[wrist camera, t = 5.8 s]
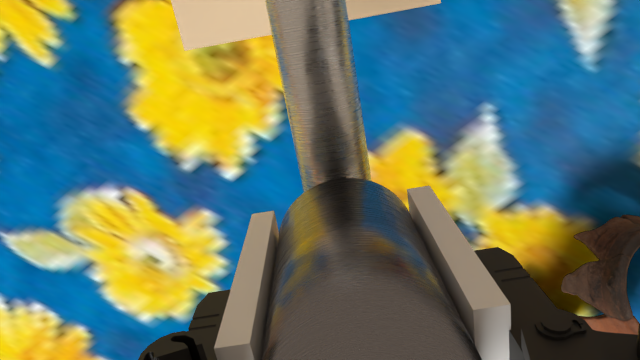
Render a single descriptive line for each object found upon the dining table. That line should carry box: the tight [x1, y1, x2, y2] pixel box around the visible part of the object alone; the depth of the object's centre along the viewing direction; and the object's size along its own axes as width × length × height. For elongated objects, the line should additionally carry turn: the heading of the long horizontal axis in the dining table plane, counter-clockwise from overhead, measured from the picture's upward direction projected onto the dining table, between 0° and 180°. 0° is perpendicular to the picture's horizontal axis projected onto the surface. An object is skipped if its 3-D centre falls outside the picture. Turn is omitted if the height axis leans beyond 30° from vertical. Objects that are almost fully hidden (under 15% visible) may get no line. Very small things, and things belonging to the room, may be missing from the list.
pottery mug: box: [561, 215, 640, 335], centre depth 29 cm, size 12×10×8 cm
